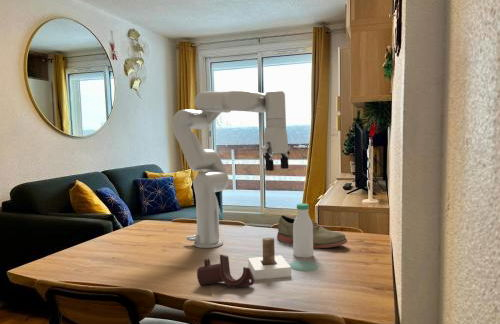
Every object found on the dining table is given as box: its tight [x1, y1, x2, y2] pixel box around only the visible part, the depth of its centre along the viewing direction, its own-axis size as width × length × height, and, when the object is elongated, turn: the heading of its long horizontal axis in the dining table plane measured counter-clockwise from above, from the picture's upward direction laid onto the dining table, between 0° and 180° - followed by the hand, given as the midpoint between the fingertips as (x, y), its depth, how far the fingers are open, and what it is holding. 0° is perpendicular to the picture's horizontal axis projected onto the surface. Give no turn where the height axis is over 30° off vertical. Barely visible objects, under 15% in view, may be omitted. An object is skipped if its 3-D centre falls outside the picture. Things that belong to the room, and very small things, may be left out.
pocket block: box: [247, 255, 292, 281], centre depth 119 cm, size 12×12×4 cm
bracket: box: [196, 254, 256, 289], centre depth 109 cm, size 6×17×10 cm, turn 80°
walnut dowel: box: [261, 237, 276, 266], centre depth 119 cm, size 4×4×11 cm
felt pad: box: [289, 260, 319, 272], centre depth 124 cm, size 10×10×1 cm
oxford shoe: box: [276, 214, 348, 249], centre depth 151 cm, size 11×32×12 cm, turn 61°
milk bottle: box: [292, 203, 314, 259], centre depth 135 cm, size 8×8×20 cm
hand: (277, 169), depth 133 cm, fingers open, 9 cm apart
